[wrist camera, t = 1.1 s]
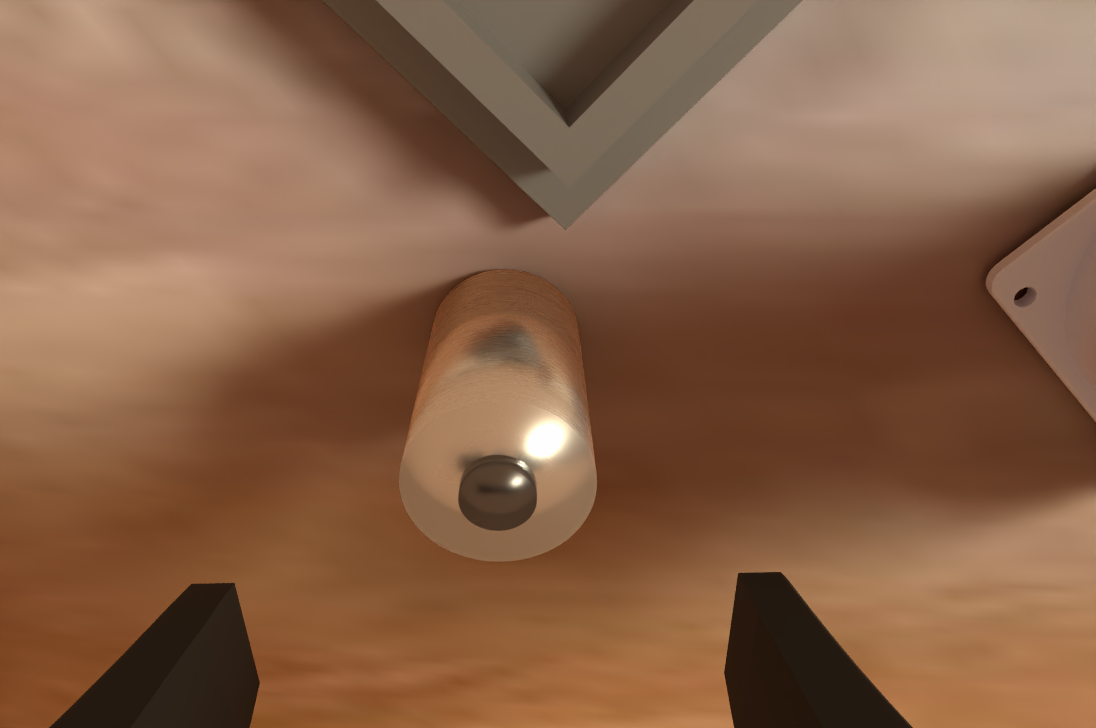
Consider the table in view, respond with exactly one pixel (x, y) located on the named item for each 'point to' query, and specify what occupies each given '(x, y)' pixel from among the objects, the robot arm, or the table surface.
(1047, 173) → the table surface
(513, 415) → the cell
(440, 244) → the table surface
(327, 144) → the table surface
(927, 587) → the table surface
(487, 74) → the cradle
